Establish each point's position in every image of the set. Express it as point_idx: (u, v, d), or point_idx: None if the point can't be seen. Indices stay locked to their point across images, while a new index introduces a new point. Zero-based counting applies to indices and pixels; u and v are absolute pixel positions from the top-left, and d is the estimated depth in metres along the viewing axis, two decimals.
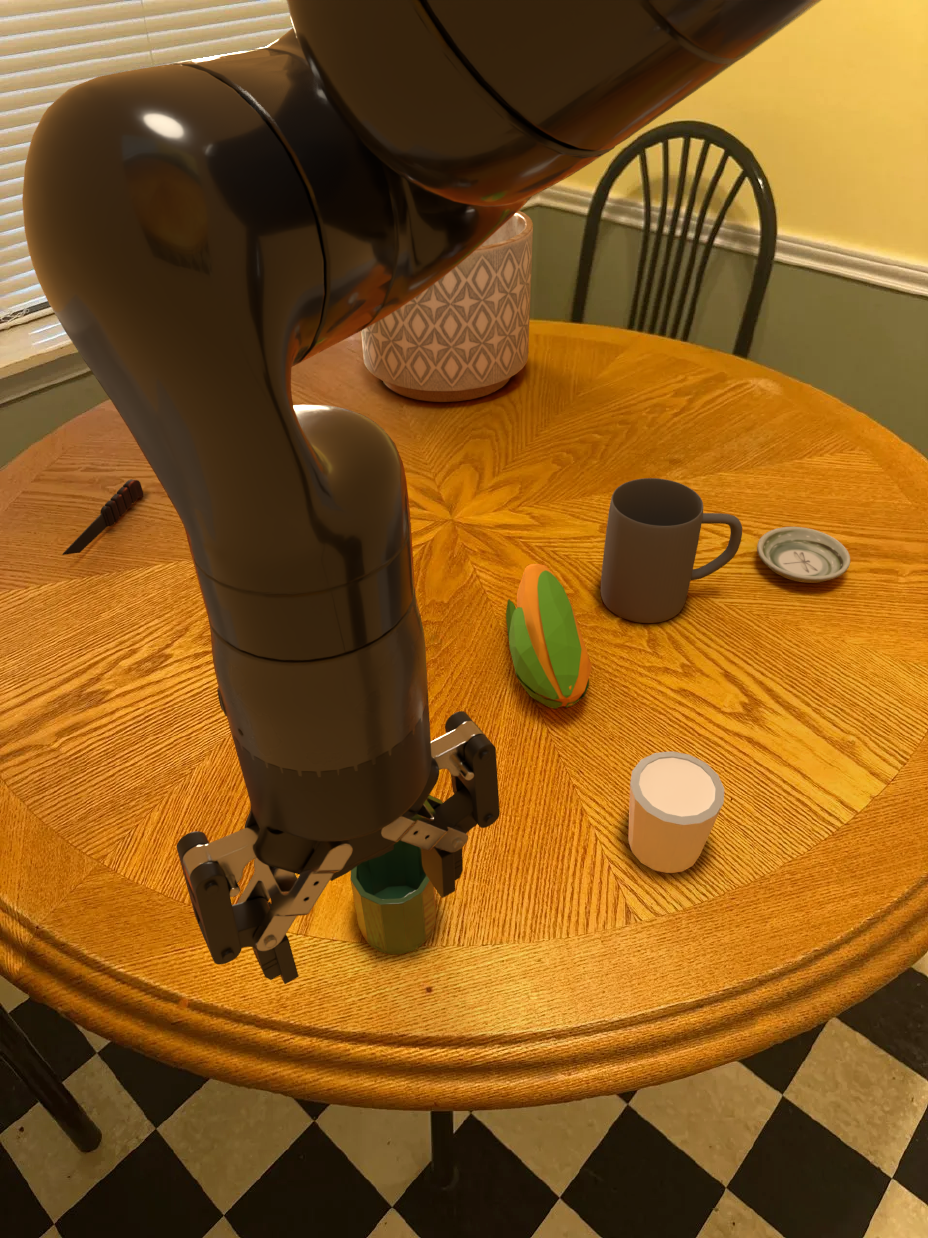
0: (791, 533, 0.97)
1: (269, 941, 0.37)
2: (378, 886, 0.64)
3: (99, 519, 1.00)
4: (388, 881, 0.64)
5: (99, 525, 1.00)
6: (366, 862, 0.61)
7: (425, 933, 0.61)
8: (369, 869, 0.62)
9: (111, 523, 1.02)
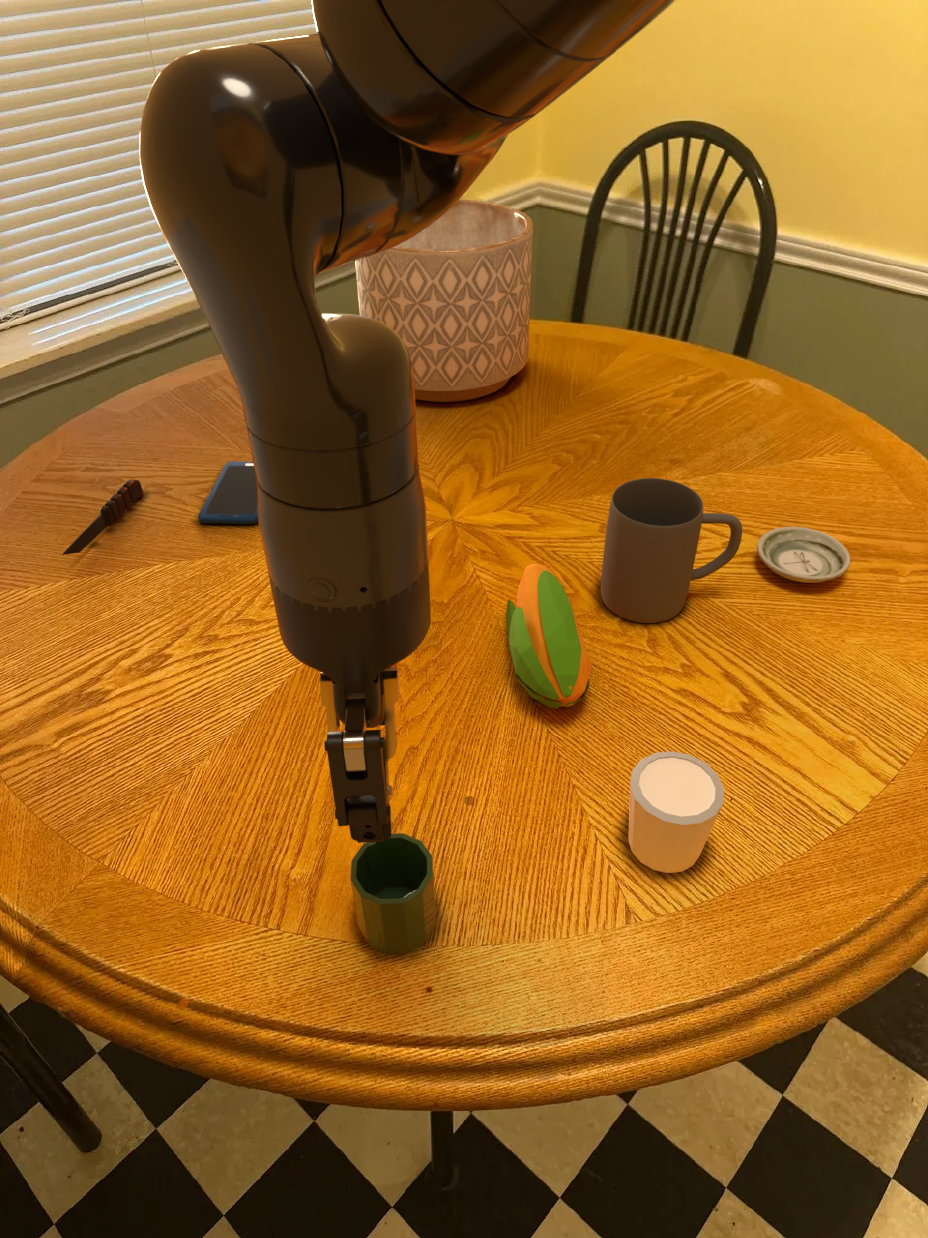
0: (791, 533, 0.97)
1: (390, 788, 0.44)
2: (378, 886, 0.64)
3: (99, 519, 1.00)
4: (388, 881, 0.64)
5: (99, 525, 1.00)
6: (366, 862, 0.61)
7: (425, 933, 0.61)
8: (369, 869, 0.62)
9: (111, 523, 1.02)
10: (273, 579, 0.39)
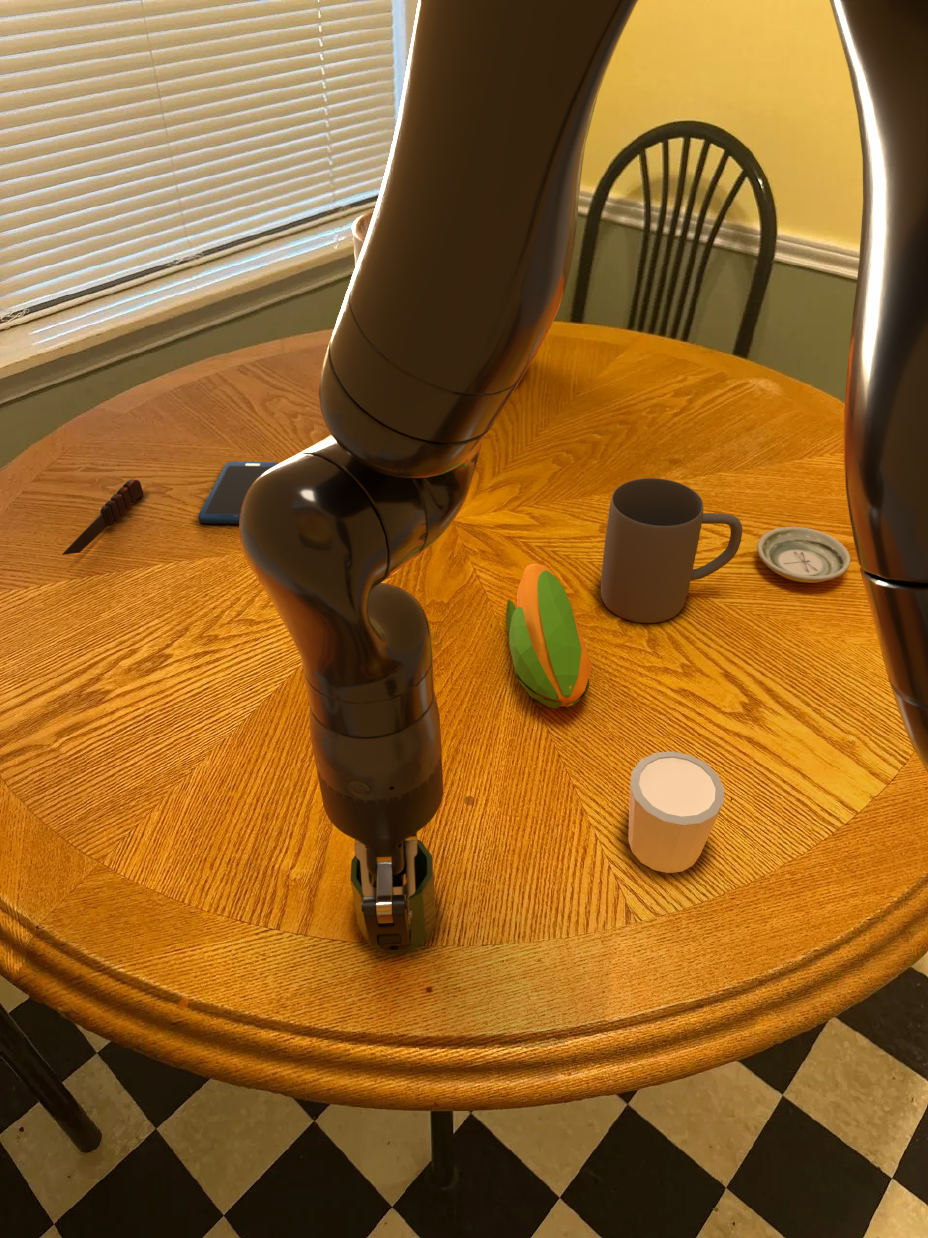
0: (791, 533, 0.97)
1: (411, 914, 0.56)
2: None
3: (99, 519, 1.00)
4: None
5: (99, 525, 1.00)
6: None
7: (425, 933, 0.61)
8: None
9: (111, 523, 1.02)
10: (321, 774, 0.49)
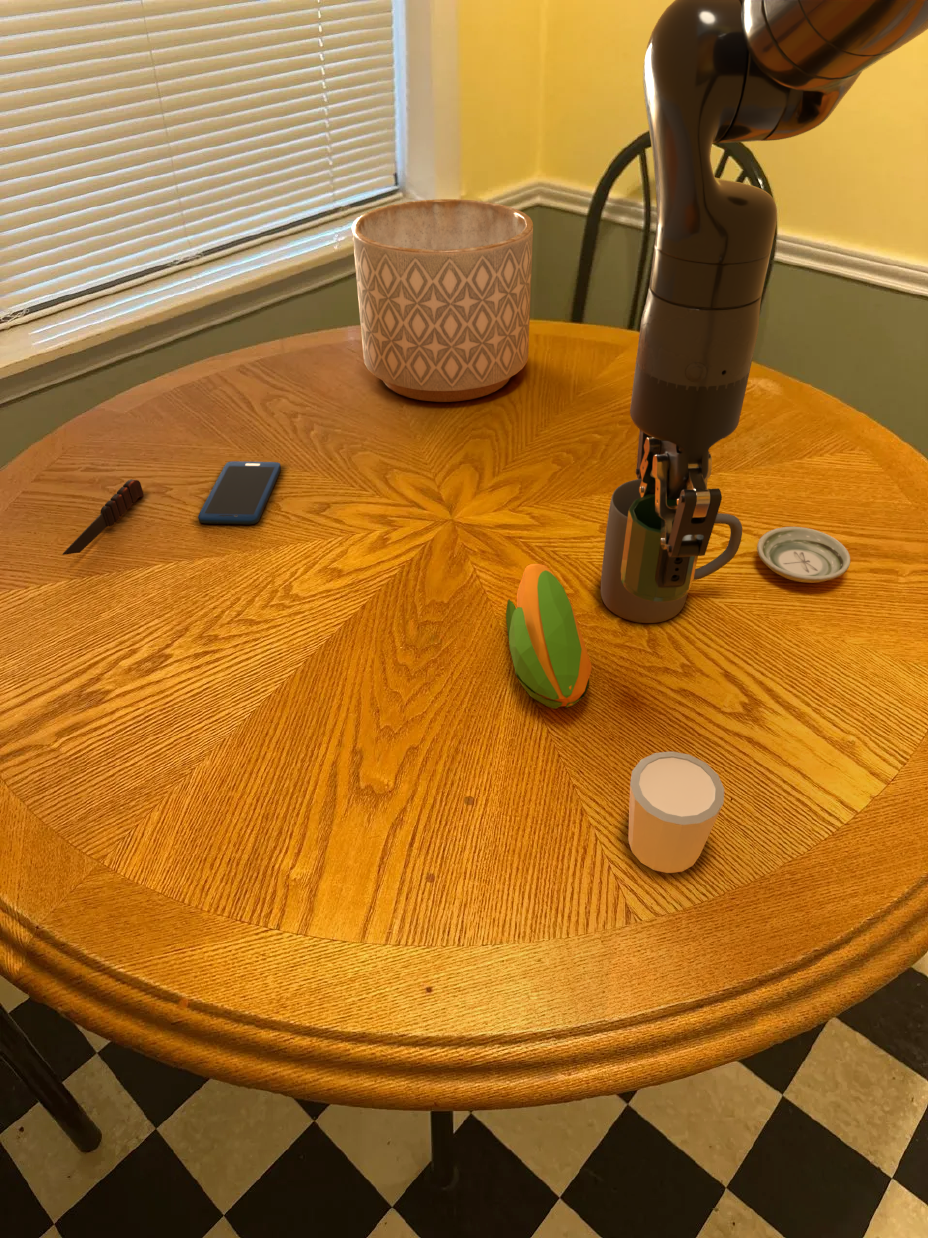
0: (791, 533, 0.97)
1: None
2: None
3: (99, 519, 1.00)
4: None
5: (99, 525, 1.00)
6: None
7: (689, 582, 0.68)
8: None
9: (111, 523, 1.02)
10: (652, 371, 0.56)
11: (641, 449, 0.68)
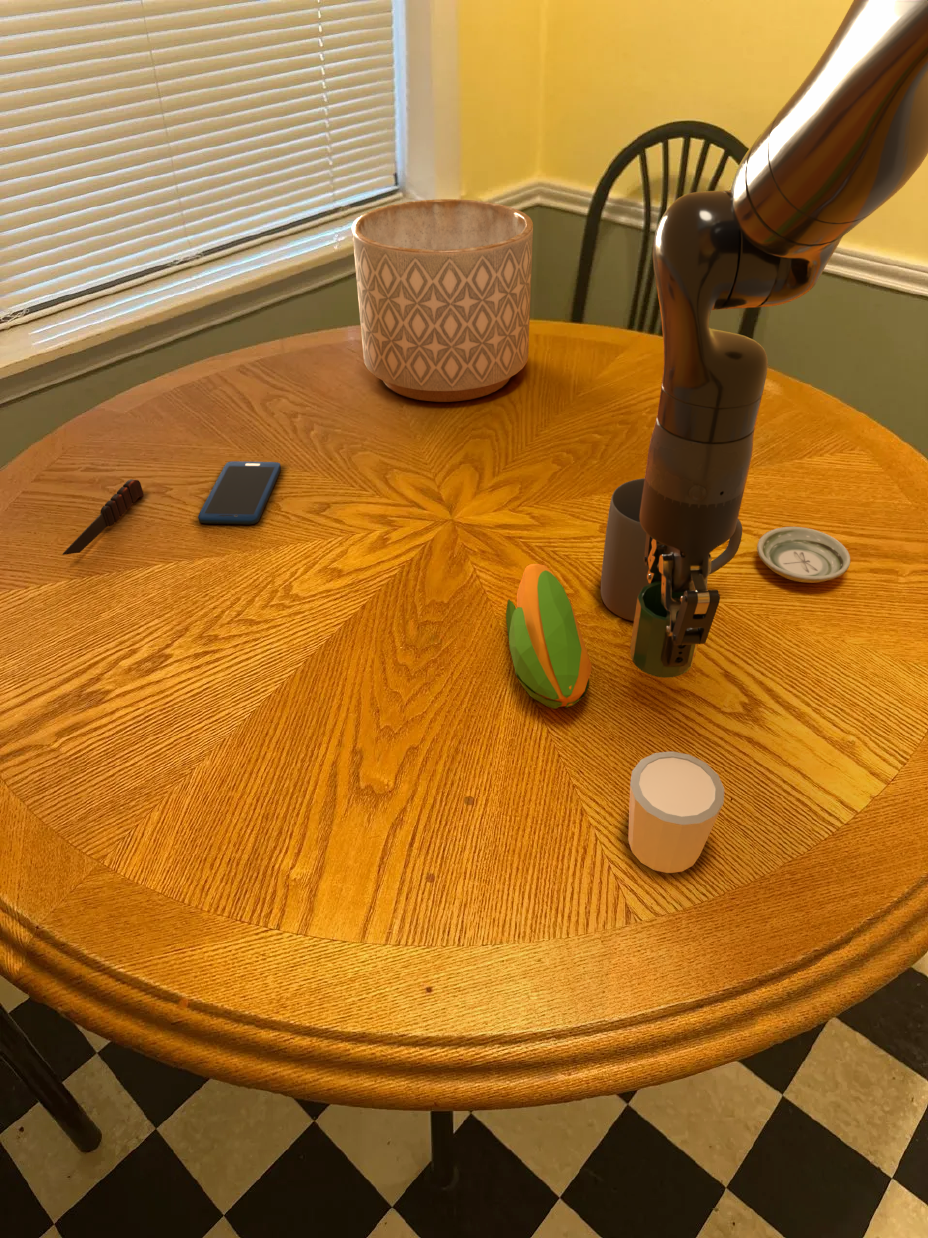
0: (791, 533, 0.97)
1: None
2: None
3: (99, 519, 1.00)
4: None
5: (99, 525, 1.00)
6: (643, 603, 0.76)
7: (691, 660, 0.76)
8: None
9: (111, 523, 1.02)
10: (659, 489, 0.64)
11: (649, 541, 0.76)
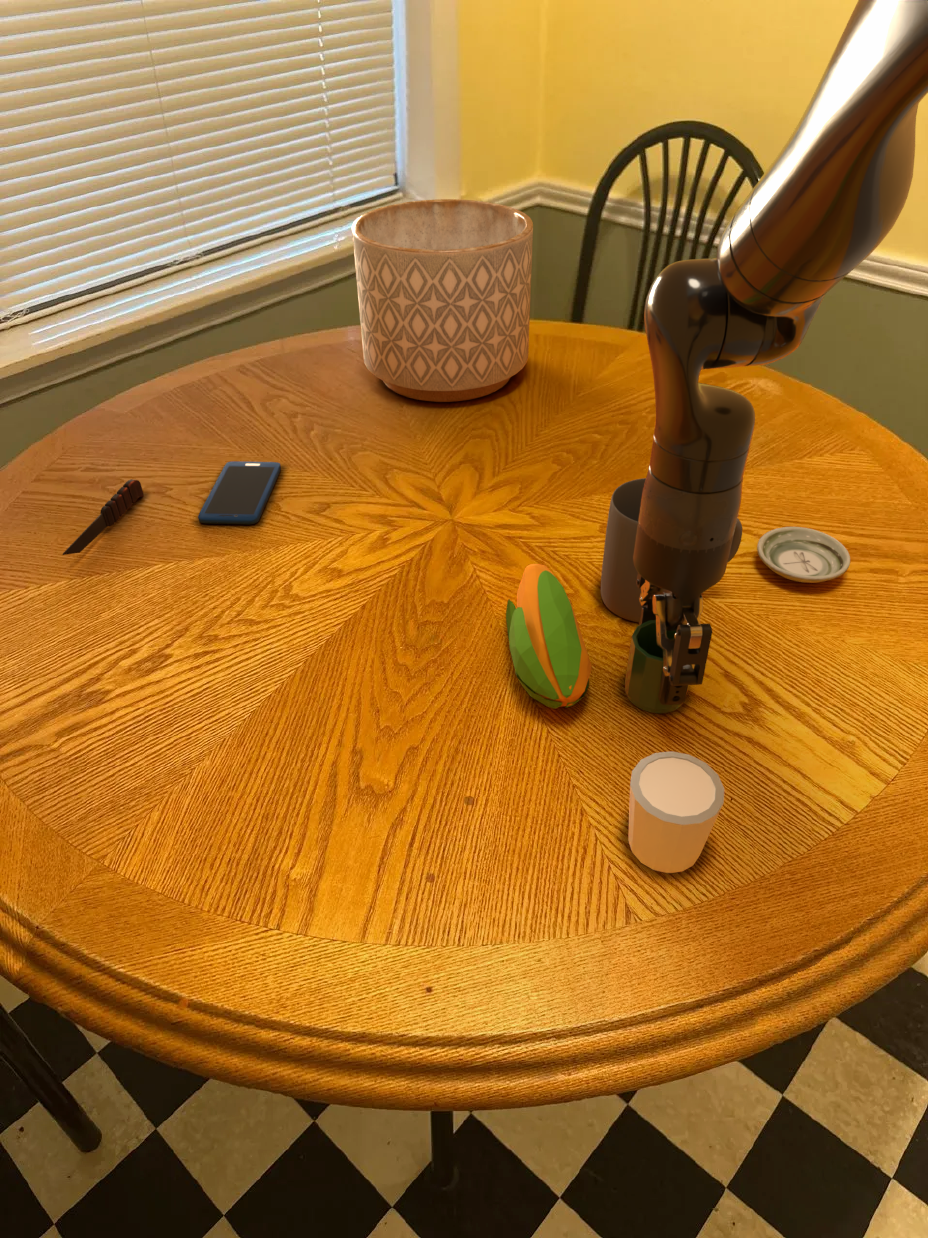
0: (791, 533, 0.97)
1: None
2: None
3: (99, 519, 1.00)
4: None
5: (99, 525, 1.00)
6: (637, 641, 0.79)
7: None
8: None
9: (111, 523, 1.02)
10: (651, 535, 0.67)
11: None
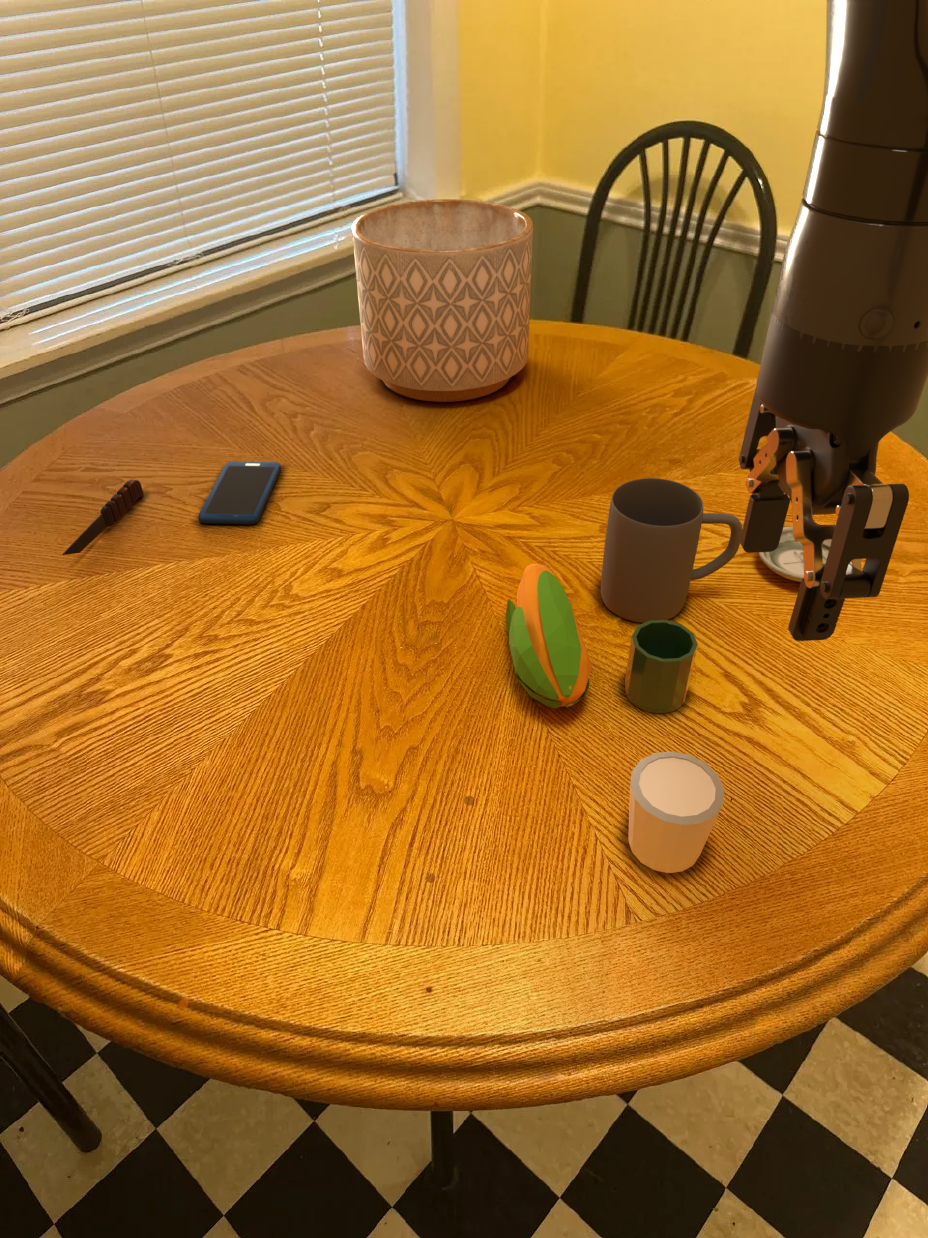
0: (791, 533, 0.97)
1: None
2: None
3: (99, 519, 1.00)
4: None
5: (99, 525, 1.00)
6: (637, 641, 0.79)
7: (684, 696, 0.78)
8: None
9: (111, 523, 1.02)
10: (804, 326, 0.38)
11: (752, 433, 0.50)
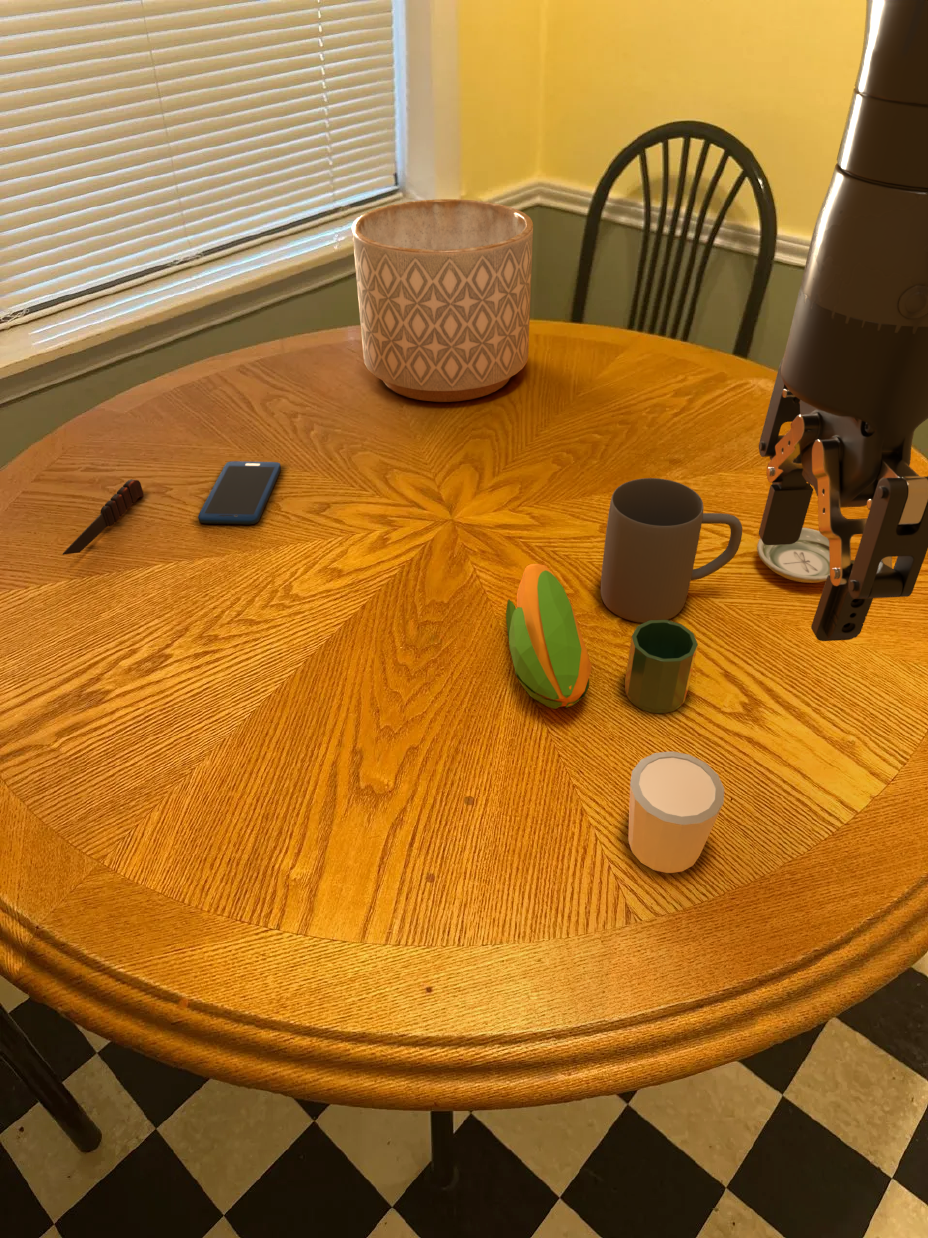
0: None
1: None
2: None
3: (99, 519, 1.00)
4: None
5: (99, 525, 1.00)
6: (637, 641, 0.79)
7: (684, 696, 0.78)
8: None
9: (111, 523, 1.02)
10: (836, 305, 0.35)
11: (774, 419, 0.47)
